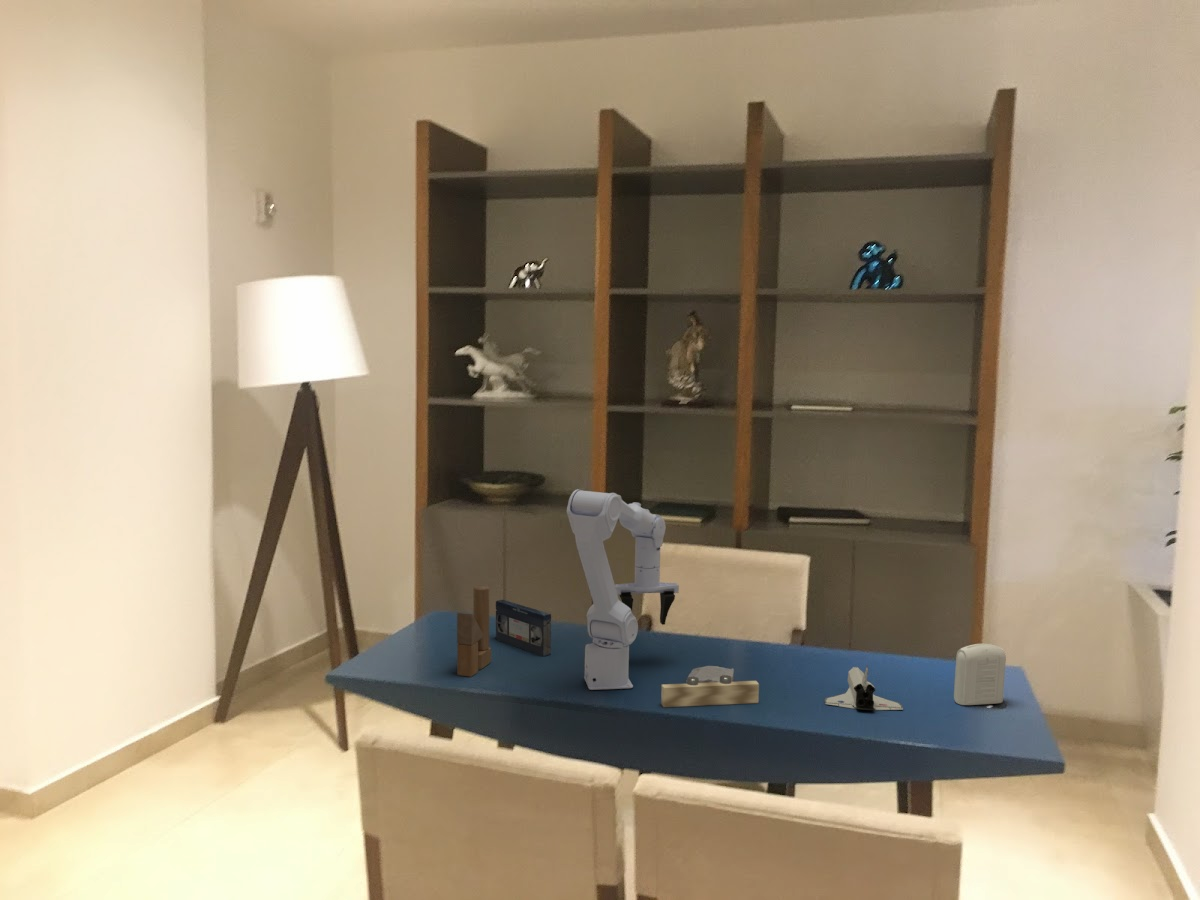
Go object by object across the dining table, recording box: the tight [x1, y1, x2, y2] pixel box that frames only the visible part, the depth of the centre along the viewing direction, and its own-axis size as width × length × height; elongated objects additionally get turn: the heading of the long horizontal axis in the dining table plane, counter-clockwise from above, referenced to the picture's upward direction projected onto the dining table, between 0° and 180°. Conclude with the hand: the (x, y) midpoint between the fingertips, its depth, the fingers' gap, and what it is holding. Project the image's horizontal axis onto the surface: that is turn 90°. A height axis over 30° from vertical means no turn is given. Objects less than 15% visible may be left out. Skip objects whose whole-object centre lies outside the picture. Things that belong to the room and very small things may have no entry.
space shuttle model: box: [824, 666, 904, 711], centre depth 201 cm, size 16×25×10 cm, turn 171°
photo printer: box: [953, 643, 1007, 706], centre depth 196 cm, size 10×4×12 cm, turn 103°
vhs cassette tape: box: [495, 599, 552, 657], centre depth 229 cm, size 18×3×10 cm, turn 43°
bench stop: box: [660, 675, 760, 708], centre depth 194 cm, size 20×3×5 cm, turn 99°
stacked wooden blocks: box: [456, 585, 492, 677], centre depth 211 cm, size 4×11×18 cm, turn 163°
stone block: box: [685, 665, 735, 684], centre depth 202 cm, size 12×5×10 cm
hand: (646, 624), depth 217 cm, fingers open, 7 cm apart
